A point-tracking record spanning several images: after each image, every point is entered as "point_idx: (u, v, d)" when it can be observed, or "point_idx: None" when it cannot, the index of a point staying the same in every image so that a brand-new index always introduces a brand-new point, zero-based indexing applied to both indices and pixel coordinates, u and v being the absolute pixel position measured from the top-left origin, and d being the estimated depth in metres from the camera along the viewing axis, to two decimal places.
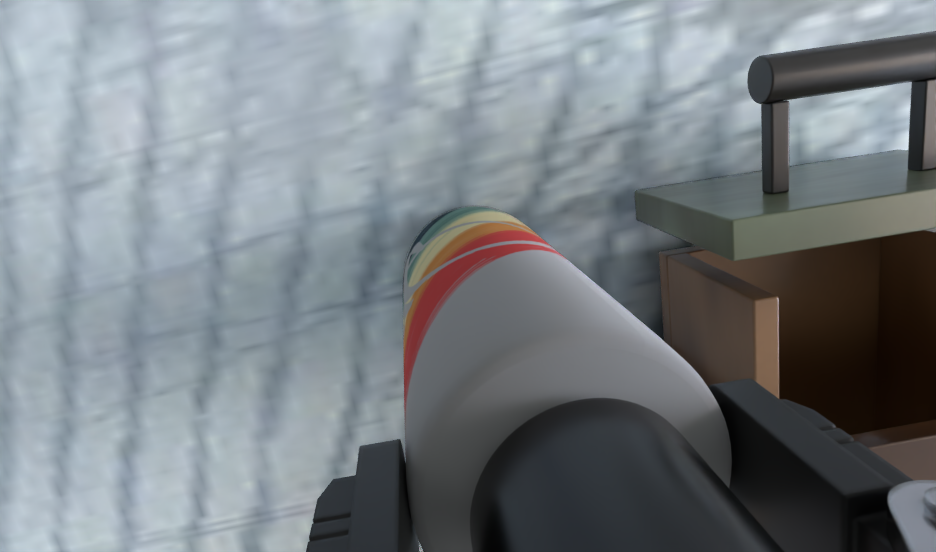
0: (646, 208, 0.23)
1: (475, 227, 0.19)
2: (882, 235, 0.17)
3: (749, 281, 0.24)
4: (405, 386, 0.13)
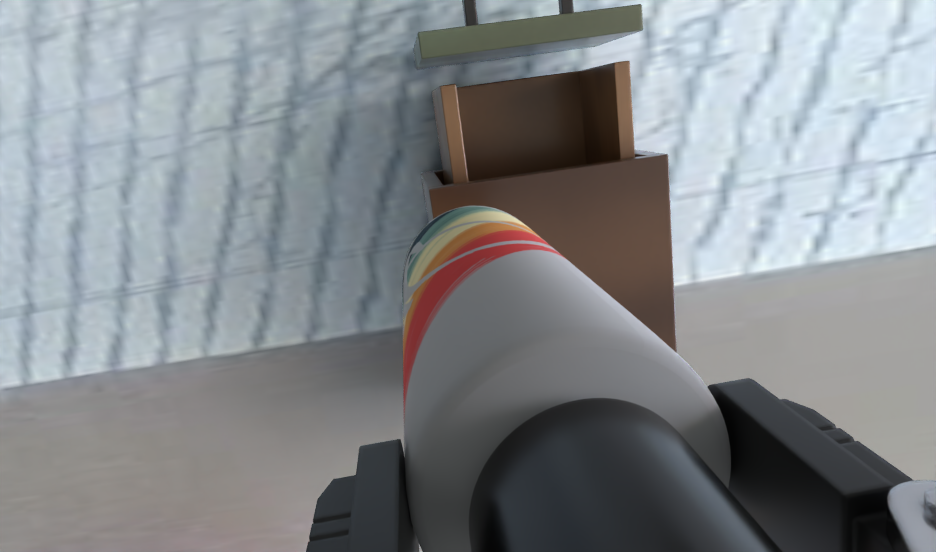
0: None
1: (475, 227, 0.19)
2: (512, 45, 0.29)
3: (491, 111, 0.36)
4: (404, 386, 0.13)
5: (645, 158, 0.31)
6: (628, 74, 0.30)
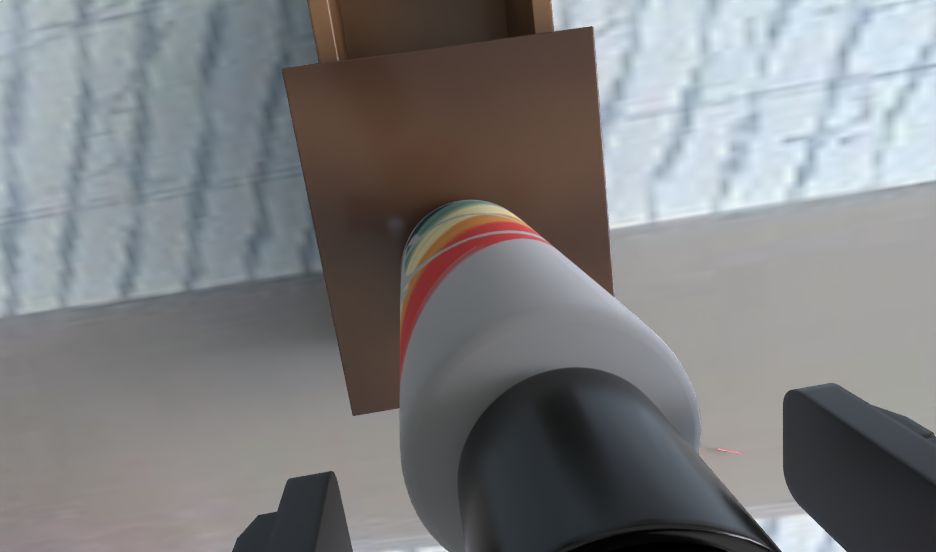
0: None
1: (469, 219, 0.20)
2: None
3: None
4: (400, 365, 0.14)
5: (564, 31, 0.24)
6: None
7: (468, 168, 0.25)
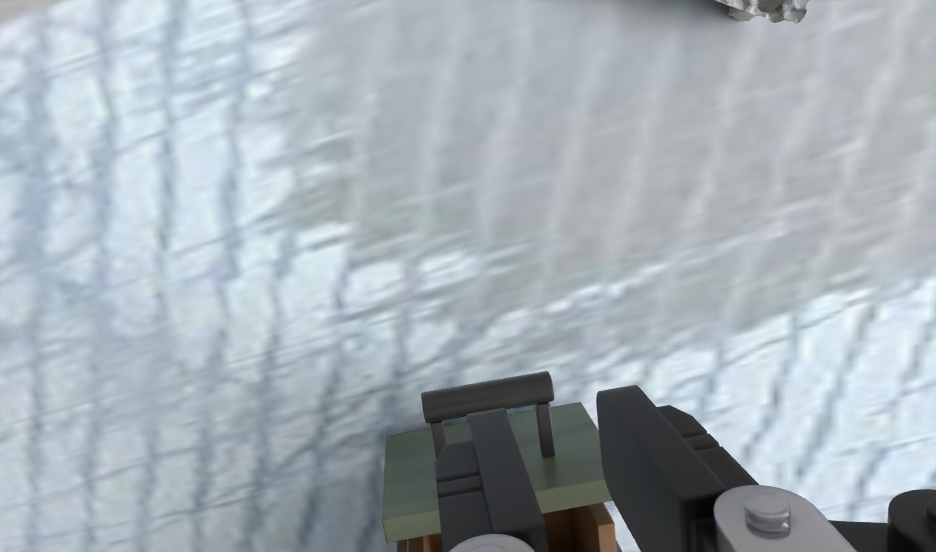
0: None
1: None
2: None
3: None
4: None
5: None
6: (613, 535, 0.28)
7: None
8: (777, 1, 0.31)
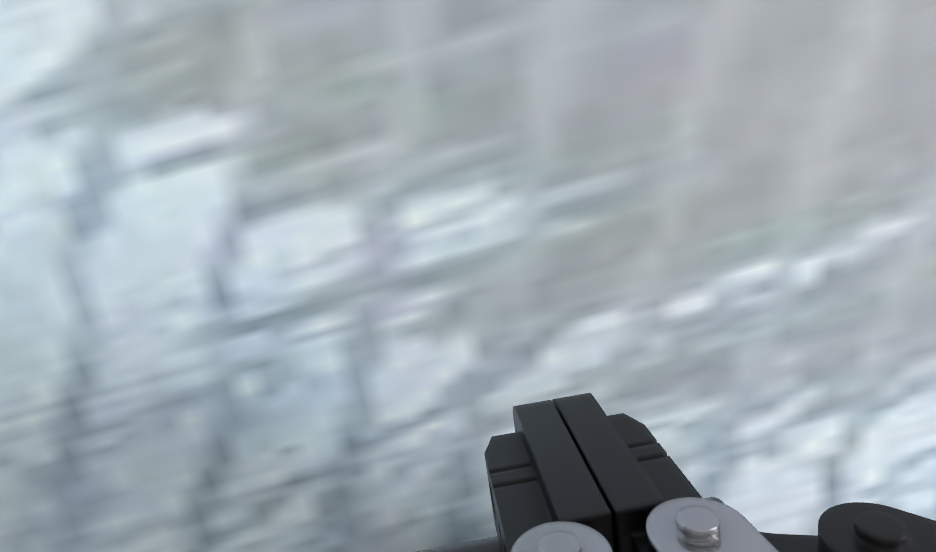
0: None
1: None
2: None
3: None
4: None
5: None
6: None
7: None
8: None
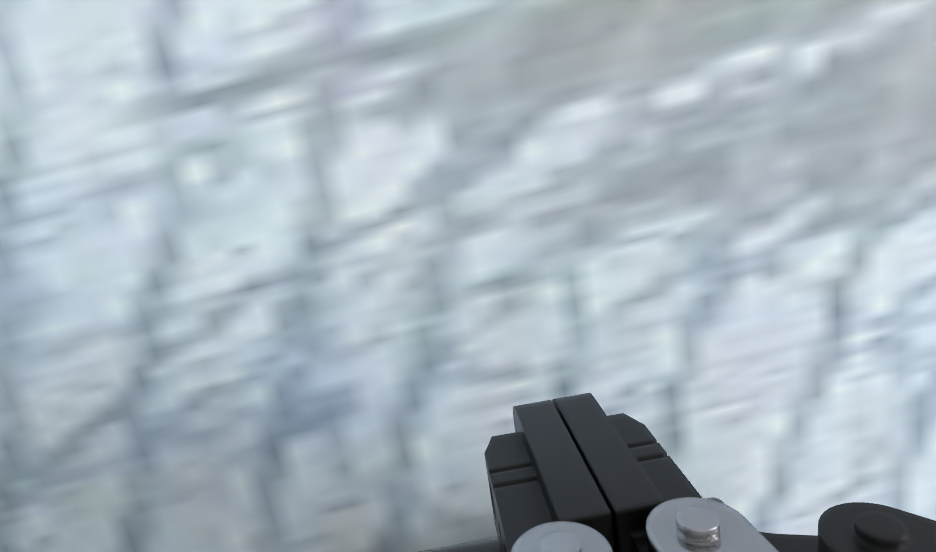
0: None
1: None
2: None
3: None
4: None
5: None
6: None
7: None
8: None
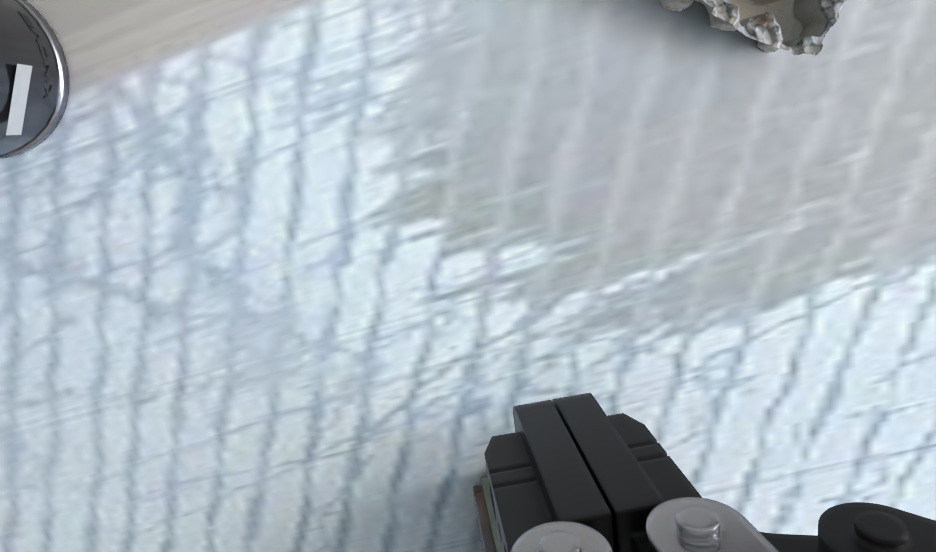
0: None
1: None
2: None
3: None
4: None
5: None
6: None
7: None
8: (797, 35, 0.37)
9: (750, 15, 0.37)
